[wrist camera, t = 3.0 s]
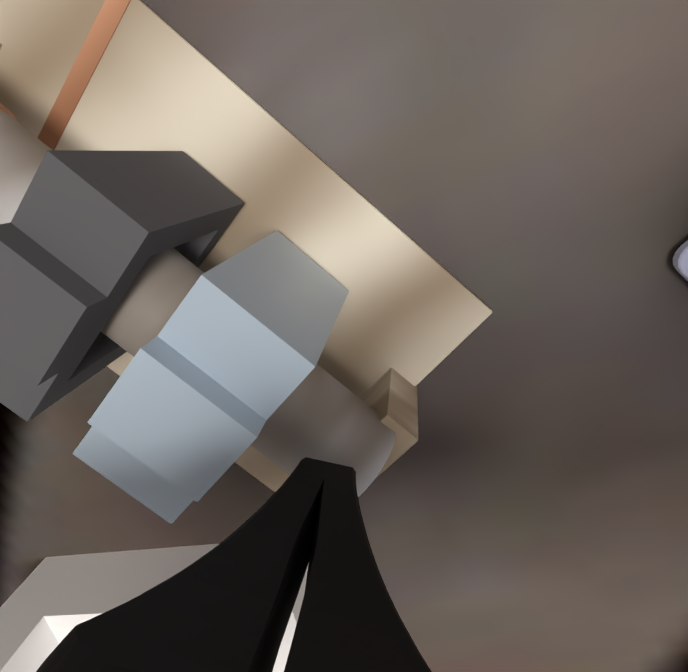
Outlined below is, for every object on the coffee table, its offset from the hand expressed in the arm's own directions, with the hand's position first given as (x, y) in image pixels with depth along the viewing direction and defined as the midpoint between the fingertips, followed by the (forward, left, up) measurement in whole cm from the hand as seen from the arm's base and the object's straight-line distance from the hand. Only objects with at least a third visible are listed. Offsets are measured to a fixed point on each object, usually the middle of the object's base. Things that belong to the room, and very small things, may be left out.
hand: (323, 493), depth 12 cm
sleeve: (+4, 0, -6) cm, 7 cm away
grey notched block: (+8, 0, -6) cm, 10 cm away
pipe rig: (+7, 0, -6) cm, 9 cm away
